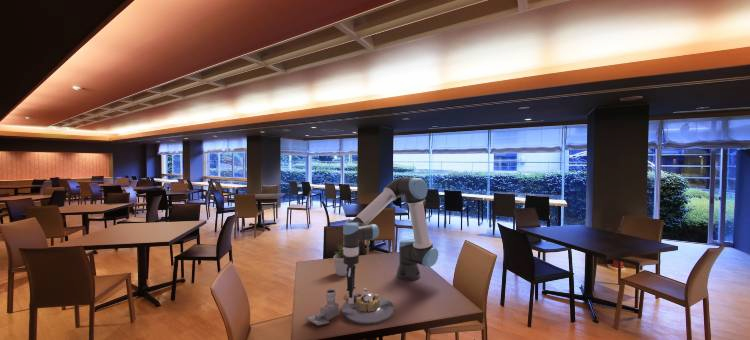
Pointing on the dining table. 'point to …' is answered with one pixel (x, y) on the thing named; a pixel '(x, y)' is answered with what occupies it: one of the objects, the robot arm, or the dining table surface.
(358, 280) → the dining table surface
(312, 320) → the camera
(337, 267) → the potted plant
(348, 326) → the dining table surface
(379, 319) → the cap plate
